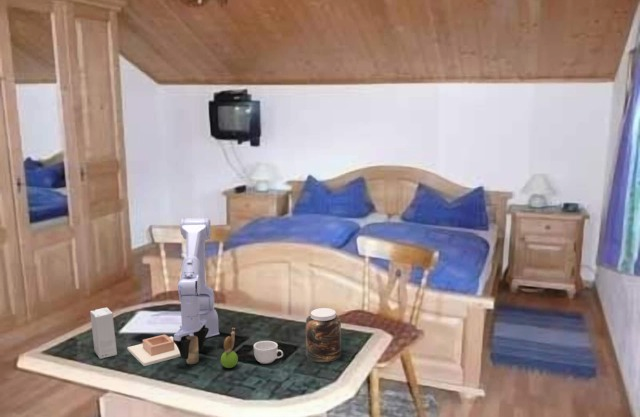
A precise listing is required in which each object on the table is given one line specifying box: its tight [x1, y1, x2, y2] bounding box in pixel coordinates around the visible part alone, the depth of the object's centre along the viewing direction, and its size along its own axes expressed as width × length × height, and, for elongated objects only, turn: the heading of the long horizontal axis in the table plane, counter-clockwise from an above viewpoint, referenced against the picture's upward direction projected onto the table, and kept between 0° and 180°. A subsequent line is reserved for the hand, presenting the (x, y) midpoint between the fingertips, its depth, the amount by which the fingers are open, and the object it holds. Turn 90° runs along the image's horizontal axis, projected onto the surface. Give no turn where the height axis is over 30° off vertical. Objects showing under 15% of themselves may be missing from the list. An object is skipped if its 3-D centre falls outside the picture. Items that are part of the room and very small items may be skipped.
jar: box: [305, 307, 342, 363], centre depth 192 cm, size 12×12×15 cm
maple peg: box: [185, 335, 200, 365], centre depth 188 cm, size 4×4×8 cm
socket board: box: [127, 334, 181, 367], centre depth 196 cm, size 16×16×4 cm
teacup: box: [253, 340, 284, 365], centre depth 188 cm, size 10×8×5 cm
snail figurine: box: [220, 327, 239, 369], centre depth 184 cm, size 5×6×12 cm
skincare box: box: [89, 307, 118, 360], centre depth 194 cm, size 8×6×15 cm
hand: (192, 354), depth 188 cm, fingers open, 7 cm apart
